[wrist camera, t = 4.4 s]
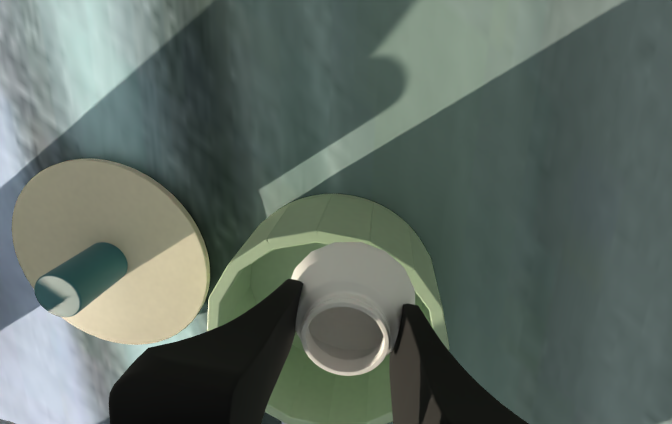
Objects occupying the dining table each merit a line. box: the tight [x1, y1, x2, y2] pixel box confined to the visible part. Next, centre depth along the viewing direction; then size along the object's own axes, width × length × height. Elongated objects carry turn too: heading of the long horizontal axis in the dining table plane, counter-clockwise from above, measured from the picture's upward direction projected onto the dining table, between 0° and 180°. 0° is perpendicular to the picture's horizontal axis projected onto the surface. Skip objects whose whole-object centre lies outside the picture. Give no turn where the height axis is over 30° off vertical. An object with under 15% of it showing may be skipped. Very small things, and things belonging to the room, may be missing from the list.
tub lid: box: [12, 158, 210, 345], centre depth 23 cm, size 13×13×5 cm
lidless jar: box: [291, 242, 415, 376], centre depth 15 cm, size 5×3×5 cm
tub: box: [207, 194, 449, 424], centre depth 21 cm, size 12×12×6 cm
